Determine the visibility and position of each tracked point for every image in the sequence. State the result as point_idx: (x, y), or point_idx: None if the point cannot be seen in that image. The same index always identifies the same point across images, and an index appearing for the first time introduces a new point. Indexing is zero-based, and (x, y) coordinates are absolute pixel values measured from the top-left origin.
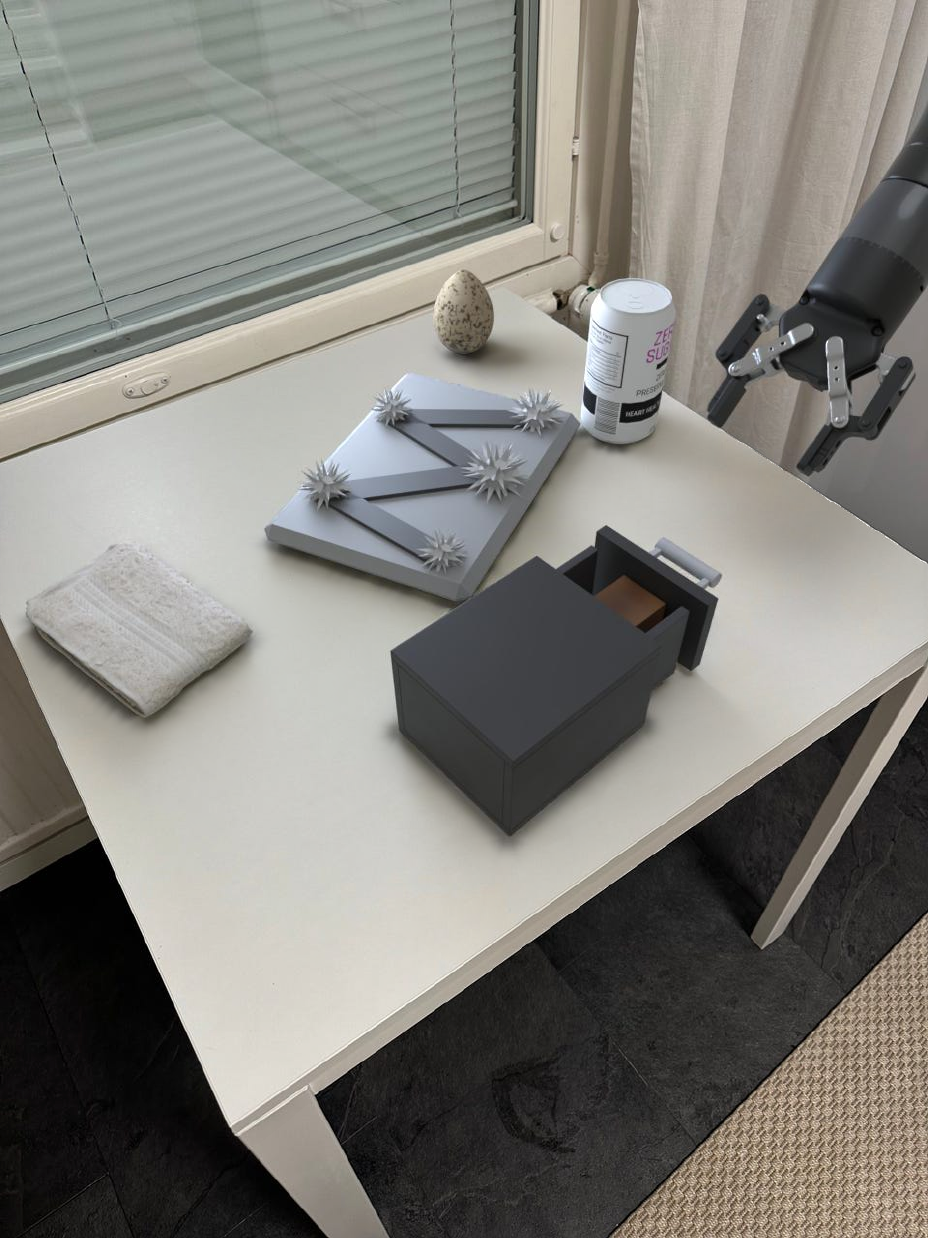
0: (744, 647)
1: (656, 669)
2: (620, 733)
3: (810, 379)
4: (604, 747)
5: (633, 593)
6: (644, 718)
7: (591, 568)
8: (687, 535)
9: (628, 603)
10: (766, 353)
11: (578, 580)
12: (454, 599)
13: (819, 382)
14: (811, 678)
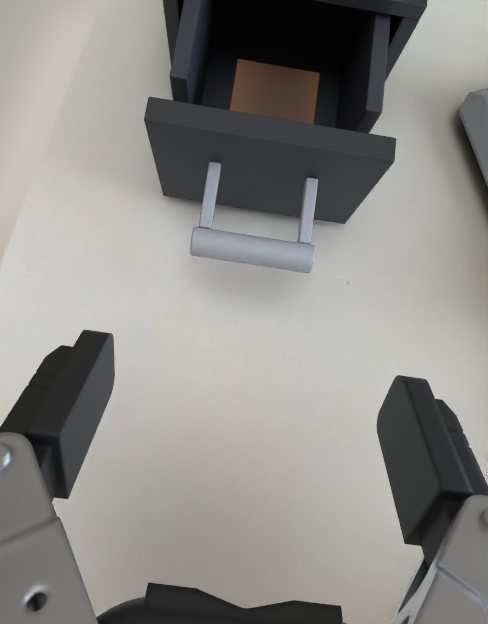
0: (135, 275)
1: (163, 5)
2: None
3: (186, 588)
4: None
5: None
6: None
7: (355, 119)
8: (316, 429)
9: (269, 101)
10: (452, 614)
11: (355, 98)
12: (470, 92)
13: (142, 598)
14: (37, 281)
